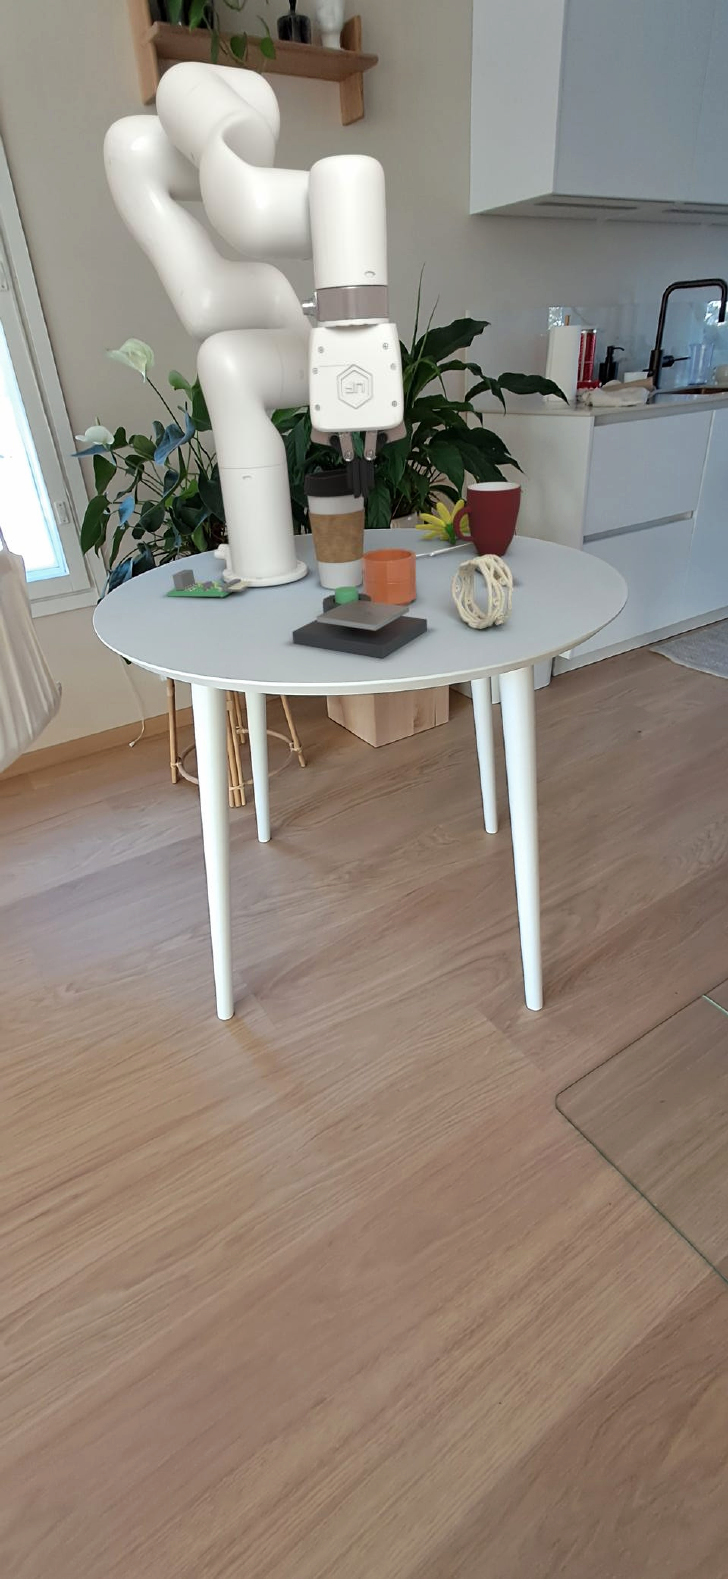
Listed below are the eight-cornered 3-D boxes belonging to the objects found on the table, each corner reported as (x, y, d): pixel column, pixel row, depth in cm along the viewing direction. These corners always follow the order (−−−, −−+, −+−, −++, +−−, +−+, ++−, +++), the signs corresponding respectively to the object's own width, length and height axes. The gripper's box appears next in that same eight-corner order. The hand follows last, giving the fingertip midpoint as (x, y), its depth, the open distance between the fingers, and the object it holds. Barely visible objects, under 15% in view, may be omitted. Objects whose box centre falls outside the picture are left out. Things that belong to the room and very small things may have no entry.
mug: (470, 566, 113) (471, 495, 108) (442, 555, 119) (442, 488, 114) (528, 555, 117) (532, 486, 112) (498, 546, 123) (500, 480, 118)
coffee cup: (364, 592, 104) (358, 474, 96) (305, 591, 105) (294, 476, 98) (376, 575, 111) (371, 465, 103) (320, 575, 113) (311, 466, 105)
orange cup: (354, 606, 98) (351, 559, 95) (381, 592, 103) (379, 546, 100) (399, 612, 95) (398, 563, 92) (425, 597, 100) (425, 550, 97)
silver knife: (478, 543, 124) (370, 563, 118) (478, 536, 123) (369, 556, 118) (490, 549, 120) (380, 570, 115) (490, 543, 120) (380, 564, 115)
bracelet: (473, 615, 93) (474, 547, 89) (517, 631, 87) (520, 560, 83) (446, 621, 91) (447, 553, 87) (489, 638, 85) (491, 566, 81)
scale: (287, 642, 87) (284, 616, 86) (341, 614, 95) (340, 590, 94) (382, 658, 81) (381, 631, 80) (432, 627, 89) (432, 602, 88)
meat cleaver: (527, 579, 103) (495, 584, 102) (526, 587, 104) (494, 592, 102) (483, 555, 112) (453, 560, 111) (483, 563, 113) (453, 568, 111)
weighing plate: (316, 622, 84) (316, 616, 83) (352, 604, 89) (352, 599, 88) (375, 630, 80) (375, 625, 80) (409, 611, 85) (409, 606, 85)
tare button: (330, 604, 90) (329, 591, 90) (343, 598, 92) (342, 585, 92) (350, 607, 89) (349, 593, 88) (363, 600, 91) (362, 587, 90)
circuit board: (253, 567, 106) (235, 576, 102) (257, 589, 107) (239, 599, 103) (183, 568, 110) (163, 577, 106) (187, 589, 111) (168, 599, 107)
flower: (439, 492, 118) (501, 511, 123) (402, 532, 128) (461, 548, 133) (442, 515, 117) (504, 533, 122) (403, 553, 126) (463, 569, 132)
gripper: (276, 313, 76) (293, 505, 86) (425, 304, 75) (426, 499, 85) (286, 315, 83) (301, 493, 92) (423, 307, 82) (425, 488, 91)
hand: (361, 496), depth 88 cm, fingers closed
